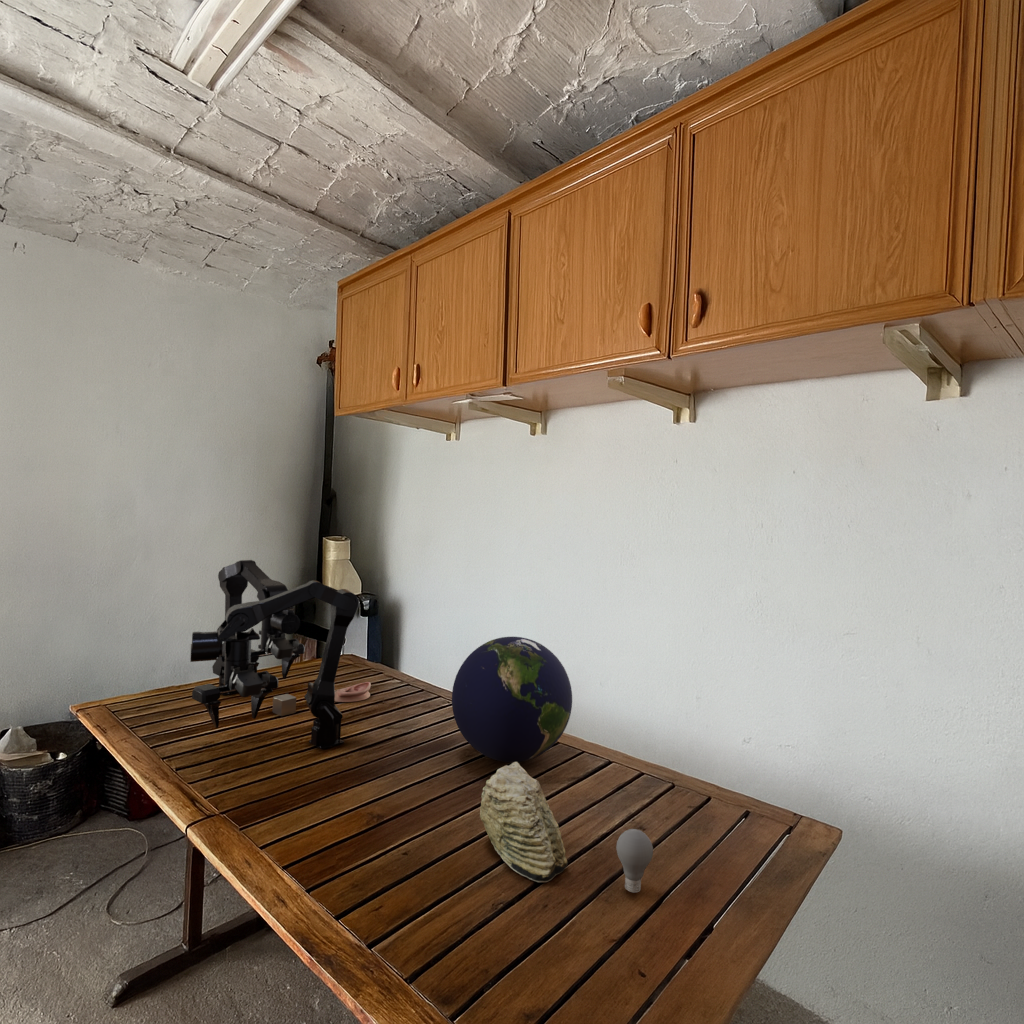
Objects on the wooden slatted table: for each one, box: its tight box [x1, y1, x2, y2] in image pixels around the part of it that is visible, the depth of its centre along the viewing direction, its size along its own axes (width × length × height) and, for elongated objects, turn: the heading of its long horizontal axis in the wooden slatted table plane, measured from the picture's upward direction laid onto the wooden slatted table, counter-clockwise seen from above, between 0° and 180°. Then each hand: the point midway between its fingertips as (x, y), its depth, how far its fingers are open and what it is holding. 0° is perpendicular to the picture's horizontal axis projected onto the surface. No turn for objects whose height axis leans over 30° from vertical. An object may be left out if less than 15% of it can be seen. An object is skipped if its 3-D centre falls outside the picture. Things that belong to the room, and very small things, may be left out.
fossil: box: [479, 762, 569, 883], centre depth 114 cm, size 9×18×15 cm, turn 46°
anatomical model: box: [334, 681, 372, 703], centre depth 200 cm, size 13×4×12 cm
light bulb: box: [615, 828, 654, 894], centre depth 106 cm, size 6×6×10 cm
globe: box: [451, 636, 573, 763], centre depth 158 cm, size 30×30×30 cm
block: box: [271, 693, 297, 717], centre depth 183 cm, size 5×5×4 cm
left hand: (269, 681), depth 183 cm, fingers open, 9 cm apart
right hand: (235, 722), depth 152 cm, fingers open, 9 cm apart
